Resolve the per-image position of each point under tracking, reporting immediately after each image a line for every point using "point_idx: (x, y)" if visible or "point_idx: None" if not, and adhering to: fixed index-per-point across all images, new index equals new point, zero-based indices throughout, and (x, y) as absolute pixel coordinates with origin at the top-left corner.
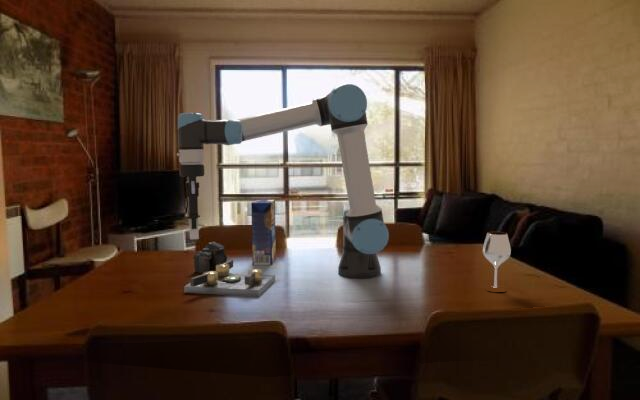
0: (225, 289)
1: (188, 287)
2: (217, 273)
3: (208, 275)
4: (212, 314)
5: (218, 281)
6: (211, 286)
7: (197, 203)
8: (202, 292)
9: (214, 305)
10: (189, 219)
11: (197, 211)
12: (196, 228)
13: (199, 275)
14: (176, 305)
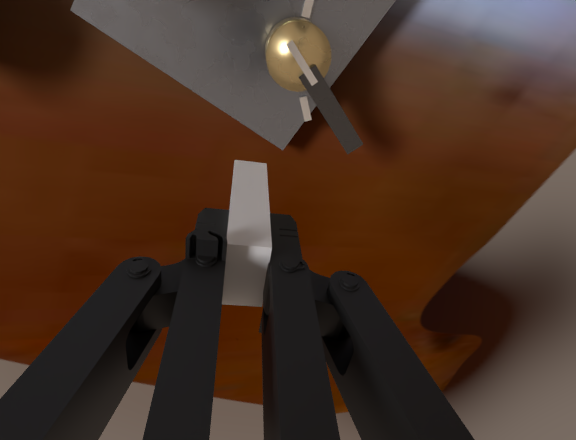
0: (389, 5)
1: (292, 136)
2: (313, 24)
3: (325, 73)
4: (542, 101)
5: (271, 5)
6: (334, 56)
7: (449, 404)
8: None
9: (471, 76)
10: (261, 300)
11: (387, 319)
12: (290, 217)
13: (325, 114)
14: (398, 179)
